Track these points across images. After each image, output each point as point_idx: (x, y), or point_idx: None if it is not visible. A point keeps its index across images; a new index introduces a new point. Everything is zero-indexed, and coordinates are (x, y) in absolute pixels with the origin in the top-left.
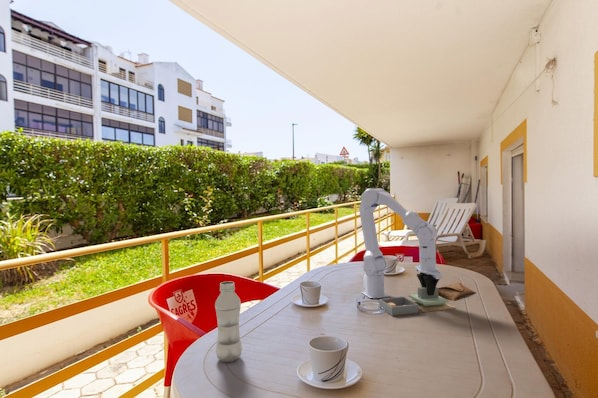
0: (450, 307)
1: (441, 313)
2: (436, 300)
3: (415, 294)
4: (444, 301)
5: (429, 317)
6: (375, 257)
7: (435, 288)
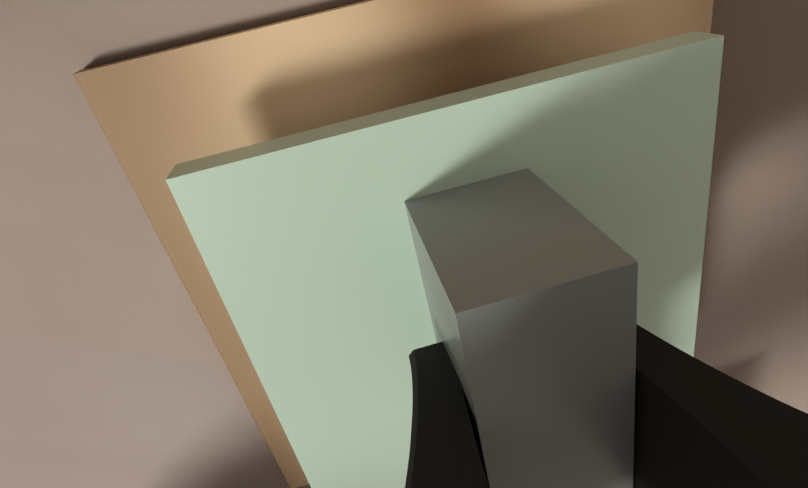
0: (692, 7)
1: (774, 202)
2: (665, 250)
3: (317, 461)
4: (705, 119)
5: (804, 339)
6: None
7: (635, 332)
